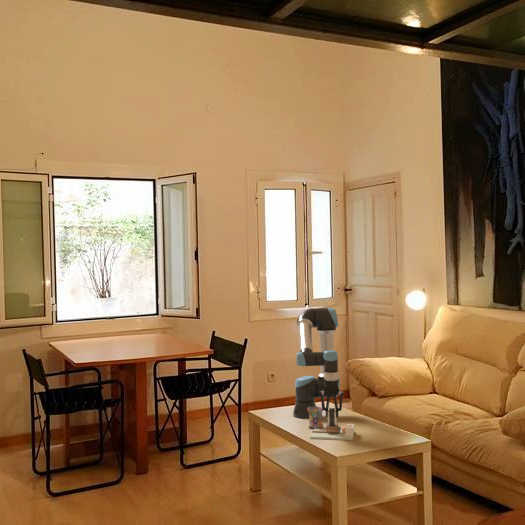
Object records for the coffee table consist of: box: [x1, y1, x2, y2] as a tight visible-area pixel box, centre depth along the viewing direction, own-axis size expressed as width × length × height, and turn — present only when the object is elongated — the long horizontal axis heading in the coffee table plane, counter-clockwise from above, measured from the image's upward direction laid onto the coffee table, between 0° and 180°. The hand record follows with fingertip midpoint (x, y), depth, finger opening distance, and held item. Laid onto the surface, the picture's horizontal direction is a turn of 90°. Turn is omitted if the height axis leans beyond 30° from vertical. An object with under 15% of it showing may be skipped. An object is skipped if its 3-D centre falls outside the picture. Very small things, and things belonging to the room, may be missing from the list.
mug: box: [307, 406, 324, 429], centre depth 348 cm, size 12×9×11 cm
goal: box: [344, 423, 355, 437], centre depth 328 cm, size 8×4×4 cm, turn 167°
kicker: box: [325, 407, 342, 433], centre depth 330 cm, size 5×7×12 cm
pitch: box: [309, 428, 356, 441], centre depth 329 cm, size 16×22×2 cm
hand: (332, 423), depth 330 cm, fingers open, 3 cm apart
